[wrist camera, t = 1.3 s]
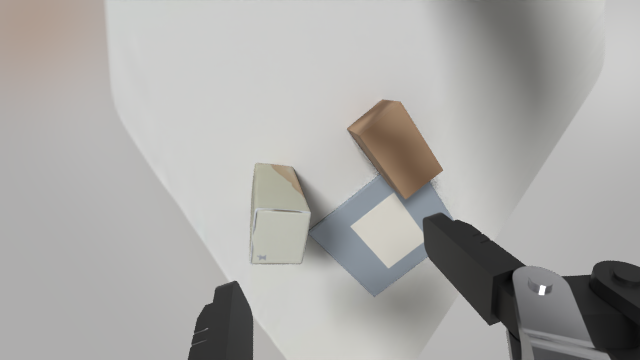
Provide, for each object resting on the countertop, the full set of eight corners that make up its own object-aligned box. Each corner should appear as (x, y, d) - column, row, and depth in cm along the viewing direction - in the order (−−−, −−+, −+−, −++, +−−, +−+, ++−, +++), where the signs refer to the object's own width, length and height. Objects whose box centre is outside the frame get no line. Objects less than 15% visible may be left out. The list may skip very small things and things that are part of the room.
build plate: (409, 151, 33) (411, 152, 32) (458, 229, 40) (461, 232, 39) (308, 231, 34) (309, 234, 33) (372, 293, 41) (374, 297, 40)
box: (287, 205, 32) (301, 268, 22) (249, 203, 31) (247, 268, 21) (293, 164, 30) (312, 212, 20) (254, 160, 29) (254, 208, 19)
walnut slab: (382, 99, 30) (400, 101, 25) (421, 159, 33) (443, 170, 29) (346, 128, 30) (359, 135, 26) (388, 185, 33) (405, 199, 29)
